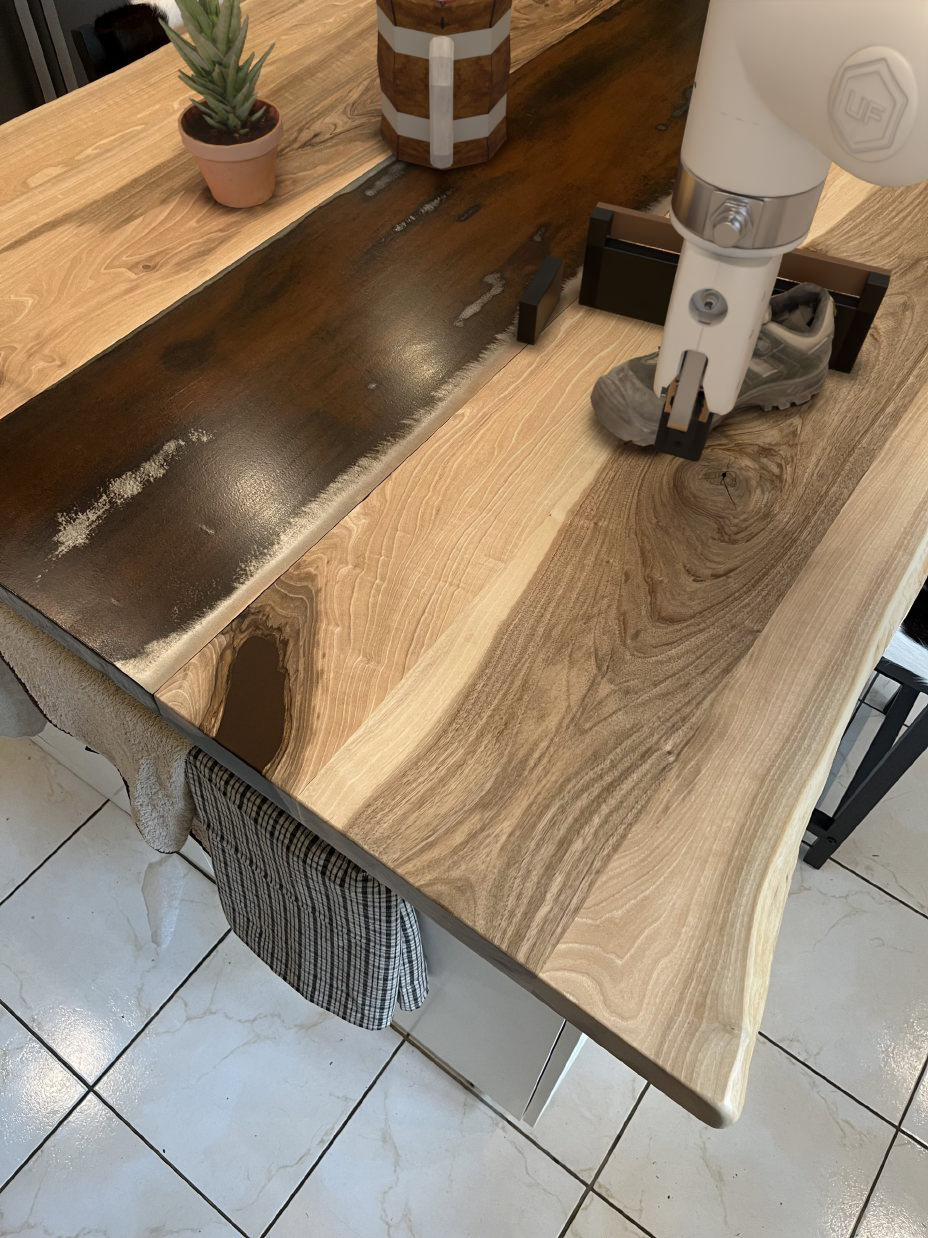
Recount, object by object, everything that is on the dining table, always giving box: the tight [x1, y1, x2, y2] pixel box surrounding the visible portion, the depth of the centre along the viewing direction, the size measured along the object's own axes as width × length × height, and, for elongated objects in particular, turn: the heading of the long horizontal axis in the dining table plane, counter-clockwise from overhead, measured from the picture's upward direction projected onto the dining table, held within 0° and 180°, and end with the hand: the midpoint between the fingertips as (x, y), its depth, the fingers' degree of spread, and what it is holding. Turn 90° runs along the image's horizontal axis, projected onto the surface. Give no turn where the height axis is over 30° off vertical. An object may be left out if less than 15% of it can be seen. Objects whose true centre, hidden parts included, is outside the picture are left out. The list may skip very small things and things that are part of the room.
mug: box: [375, 0, 513, 171], centre depth 92 cm, size 20×14×15 cm
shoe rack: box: [516, 201, 893, 374], centre depth 77 cm, size 27×9×8 cm, turn 68°
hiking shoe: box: [589, 282, 837, 447], centre depth 73 cm, size 9×21×12 cm, turn 115°
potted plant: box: [158, 0, 285, 209], centre depth 83 cm, size 10×10×25 cm
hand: (678, 448), depth 64 cm, fingers closed
